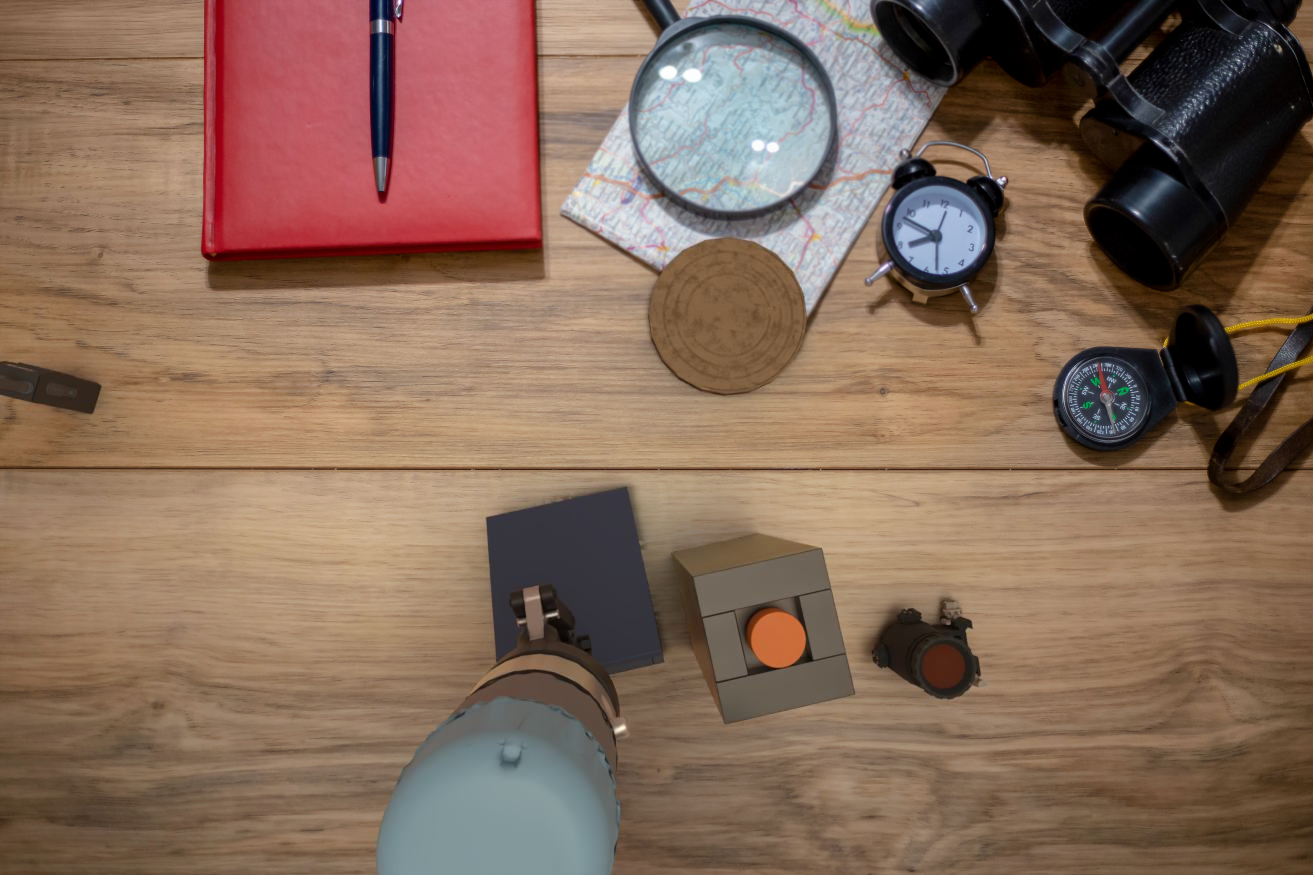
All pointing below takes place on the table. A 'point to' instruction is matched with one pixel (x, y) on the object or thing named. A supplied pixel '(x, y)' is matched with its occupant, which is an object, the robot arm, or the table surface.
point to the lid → (576, 573)
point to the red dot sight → (931, 652)
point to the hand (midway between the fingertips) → (572, 651)
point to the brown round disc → (727, 316)
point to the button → (776, 637)
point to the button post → (731, 592)
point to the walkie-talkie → (48, 387)
